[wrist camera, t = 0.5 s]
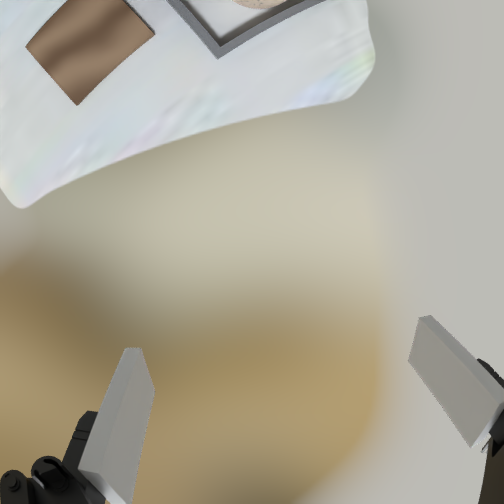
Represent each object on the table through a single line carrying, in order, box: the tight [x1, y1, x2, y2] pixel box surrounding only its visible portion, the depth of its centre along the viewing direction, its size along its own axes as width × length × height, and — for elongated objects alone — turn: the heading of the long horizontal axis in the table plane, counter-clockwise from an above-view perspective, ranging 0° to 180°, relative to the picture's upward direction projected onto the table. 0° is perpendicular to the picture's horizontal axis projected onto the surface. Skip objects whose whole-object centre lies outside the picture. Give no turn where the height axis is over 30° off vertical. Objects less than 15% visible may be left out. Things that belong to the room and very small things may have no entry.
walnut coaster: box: [26, 0, 154, 106], centre depth 23 cm, size 12×12×1 cm
